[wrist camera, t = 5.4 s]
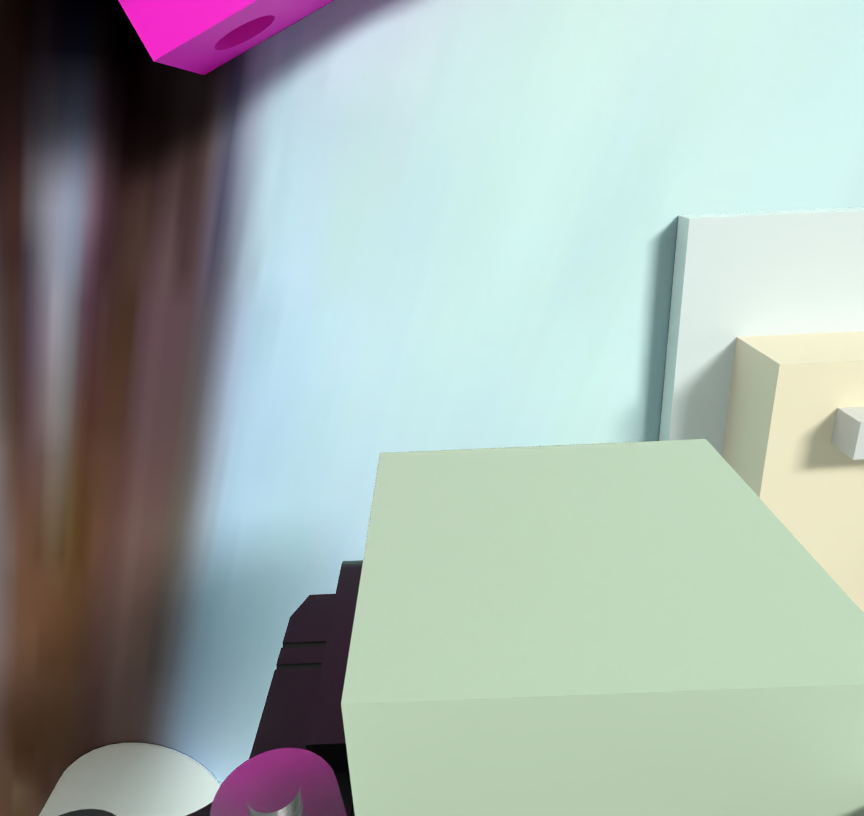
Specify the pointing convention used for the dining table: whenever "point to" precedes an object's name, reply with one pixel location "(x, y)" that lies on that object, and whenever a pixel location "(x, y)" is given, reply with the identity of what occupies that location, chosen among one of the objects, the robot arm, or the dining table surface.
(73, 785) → the mug
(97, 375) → the dining table surface
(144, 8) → the toy block
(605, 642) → the sage cube
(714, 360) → the base
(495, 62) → the dining table surface
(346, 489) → the dining table surface
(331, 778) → the robot arm
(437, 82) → the dining table surface
